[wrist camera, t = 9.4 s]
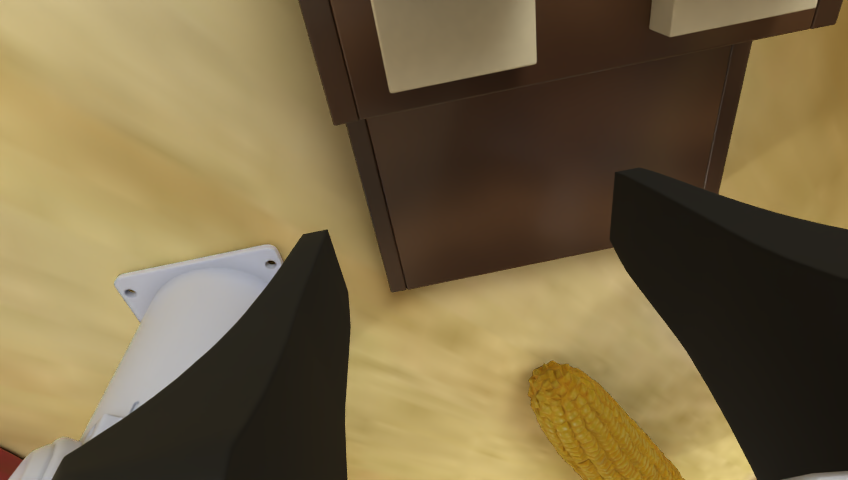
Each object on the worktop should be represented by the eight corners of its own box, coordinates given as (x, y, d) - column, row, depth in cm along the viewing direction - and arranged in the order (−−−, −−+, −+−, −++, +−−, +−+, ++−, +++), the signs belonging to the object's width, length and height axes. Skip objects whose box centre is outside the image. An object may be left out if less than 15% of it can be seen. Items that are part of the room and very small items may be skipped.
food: (677, 458, 40) (721, 533, 35) (616, 486, 42) (651, 563, 37) (561, 325, 29) (603, 408, 24) (485, 370, 31) (510, 456, 26)
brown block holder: (686, 205, 25) (759, 270, 21) (388, 266, 25) (396, 345, 21) (790, -380, 14) (1007, -524, 9) (247, -274, 14) (193, -367, 9)
